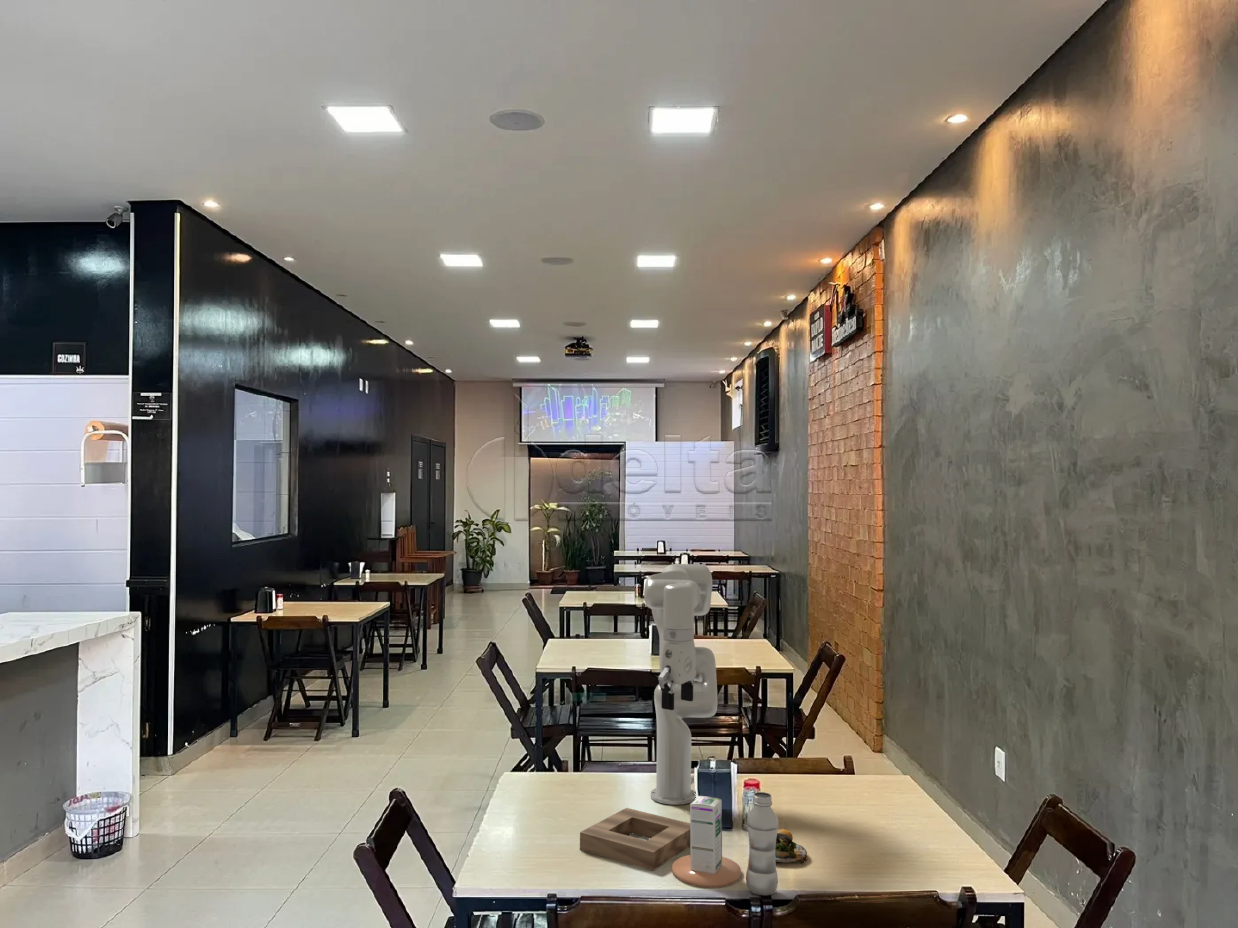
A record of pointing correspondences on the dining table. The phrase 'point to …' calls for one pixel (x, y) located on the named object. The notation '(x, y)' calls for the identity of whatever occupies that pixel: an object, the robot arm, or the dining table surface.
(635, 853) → the holder
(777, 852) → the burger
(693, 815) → the syrup box
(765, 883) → the plastic bottle
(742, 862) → the dining table surface
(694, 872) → the plate
